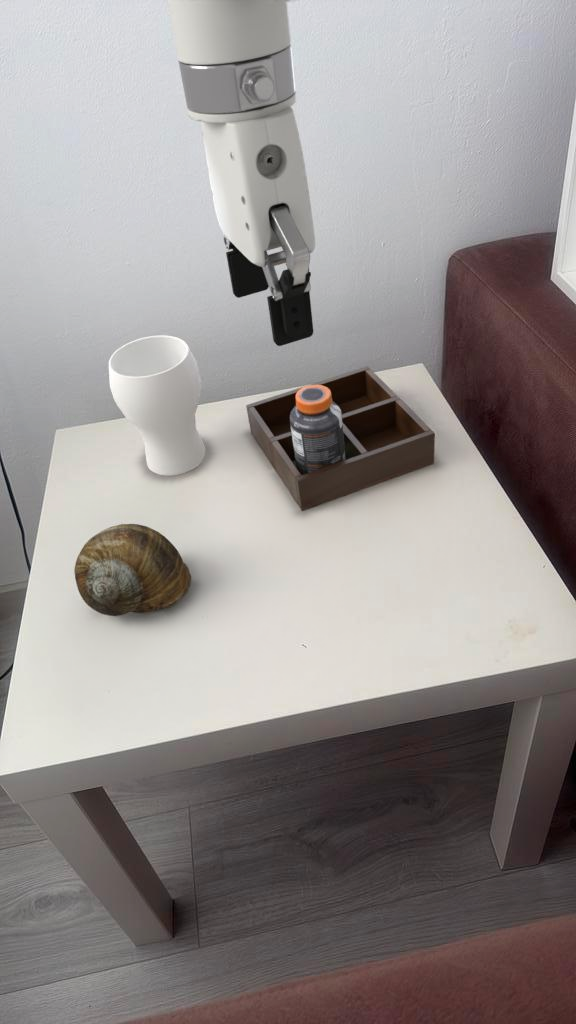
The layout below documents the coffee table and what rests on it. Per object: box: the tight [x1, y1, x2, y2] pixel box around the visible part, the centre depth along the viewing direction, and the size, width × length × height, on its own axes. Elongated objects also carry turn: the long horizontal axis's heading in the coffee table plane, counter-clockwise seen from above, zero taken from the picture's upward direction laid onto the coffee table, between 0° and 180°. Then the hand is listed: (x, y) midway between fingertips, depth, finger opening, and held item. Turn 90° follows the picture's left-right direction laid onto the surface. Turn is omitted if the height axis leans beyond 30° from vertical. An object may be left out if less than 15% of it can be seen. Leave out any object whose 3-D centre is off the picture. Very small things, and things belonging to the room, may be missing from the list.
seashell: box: [73, 523, 192, 617], centre depth 76 cm, size 11×9×8 cm
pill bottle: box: [290, 384, 346, 475], centre depth 85 cm, size 6×6×11 cm
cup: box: [108, 334, 207, 477], centre depth 90 cm, size 11×11×15 cm
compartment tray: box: [245, 365, 436, 512], centre depth 91 cm, size 17×17×5 cm
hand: (271, 314), depth 61 cm, fingers open, 9 cm apart
